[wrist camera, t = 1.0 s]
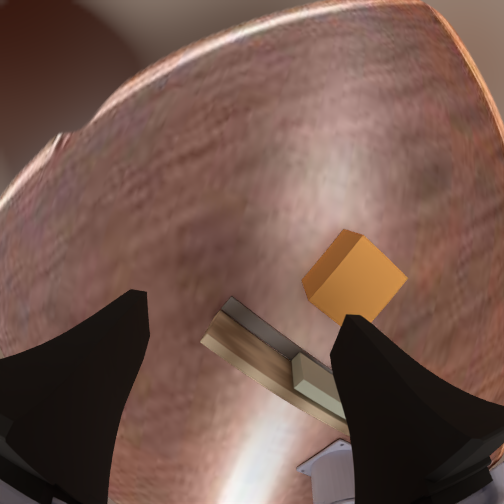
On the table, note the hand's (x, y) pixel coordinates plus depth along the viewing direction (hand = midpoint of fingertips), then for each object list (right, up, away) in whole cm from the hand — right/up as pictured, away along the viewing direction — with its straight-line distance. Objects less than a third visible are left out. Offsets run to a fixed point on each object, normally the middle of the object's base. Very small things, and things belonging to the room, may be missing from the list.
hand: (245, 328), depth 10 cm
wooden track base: (+5, -8, +17) cm, 19 cm away
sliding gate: (+9, -9, +16) cm, 20 cm away
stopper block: (+9, +1, +15) cm, 18 cm away
